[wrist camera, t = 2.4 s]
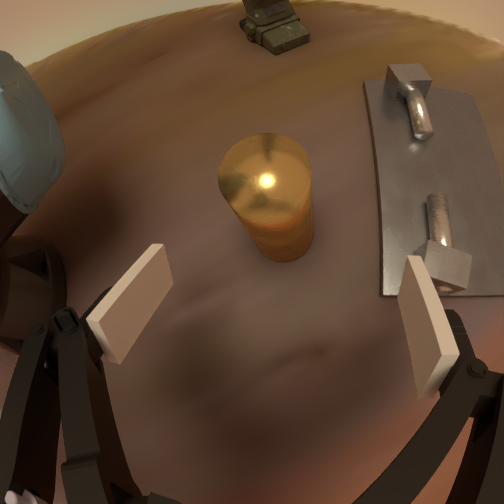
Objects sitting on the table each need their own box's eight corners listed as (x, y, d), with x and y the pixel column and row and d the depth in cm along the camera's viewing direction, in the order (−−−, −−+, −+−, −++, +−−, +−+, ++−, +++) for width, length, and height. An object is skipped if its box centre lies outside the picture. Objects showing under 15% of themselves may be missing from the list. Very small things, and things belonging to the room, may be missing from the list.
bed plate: (508, 296, 20) (536, 288, 16) (379, 296, 23) (394, 289, 19) (468, 101, 26) (481, 77, 21) (363, 85, 28) (366, 56, 24)
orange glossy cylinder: (249, 255, 26) (206, 206, 16) (263, 202, 27) (232, 129, 17) (306, 267, 25) (300, 222, 15) (318, 212, 26) (318, 139, 15)
